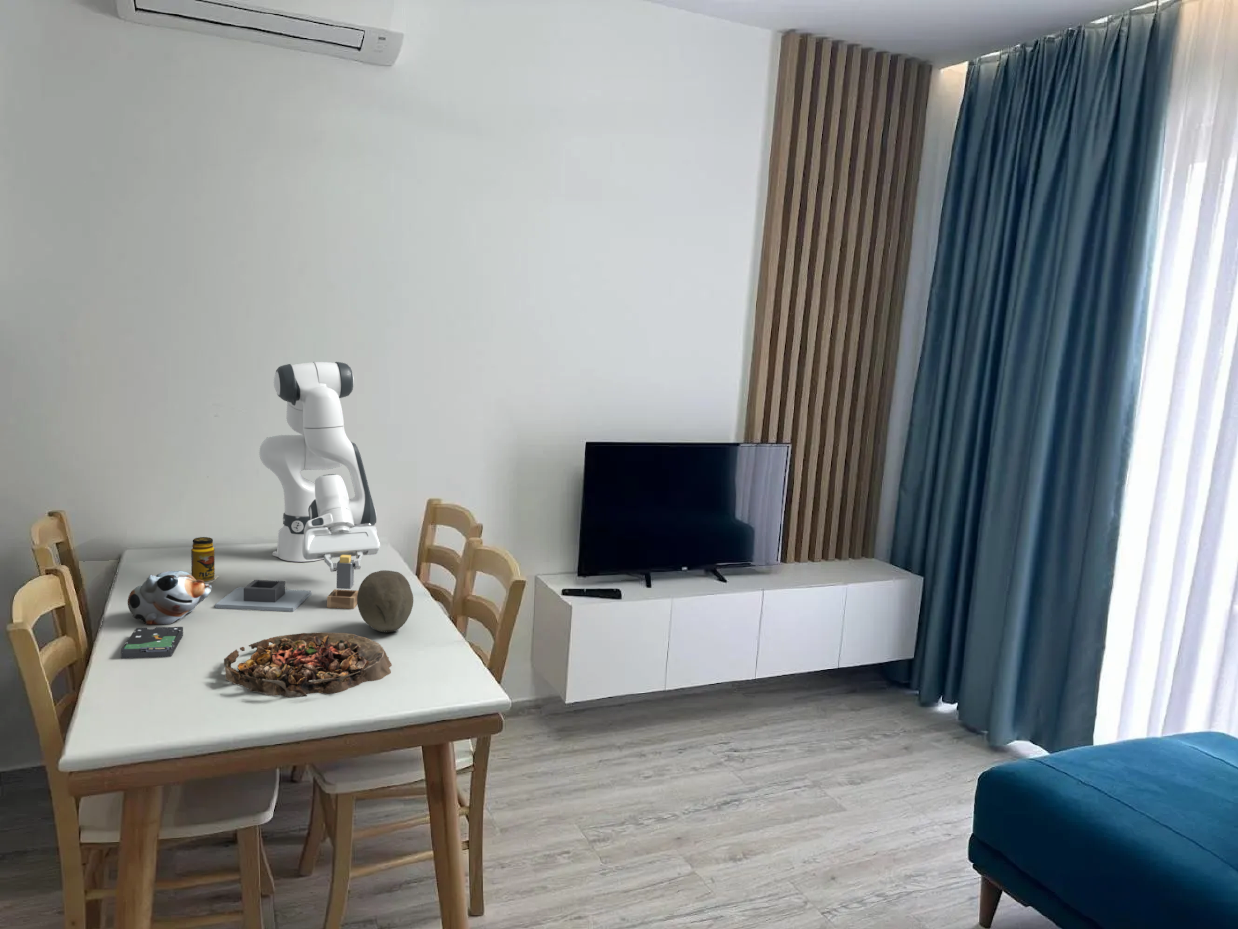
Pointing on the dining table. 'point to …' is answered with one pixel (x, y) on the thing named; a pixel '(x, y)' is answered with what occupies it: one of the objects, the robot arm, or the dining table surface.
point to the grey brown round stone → (385, 600)
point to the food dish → (309, 664)
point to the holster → (342, 599)
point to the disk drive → (152, 642)
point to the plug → (345, 572)
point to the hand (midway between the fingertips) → (345, 569)
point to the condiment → (203, 559)
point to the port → (264, 597)
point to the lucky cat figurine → (167, 597)
